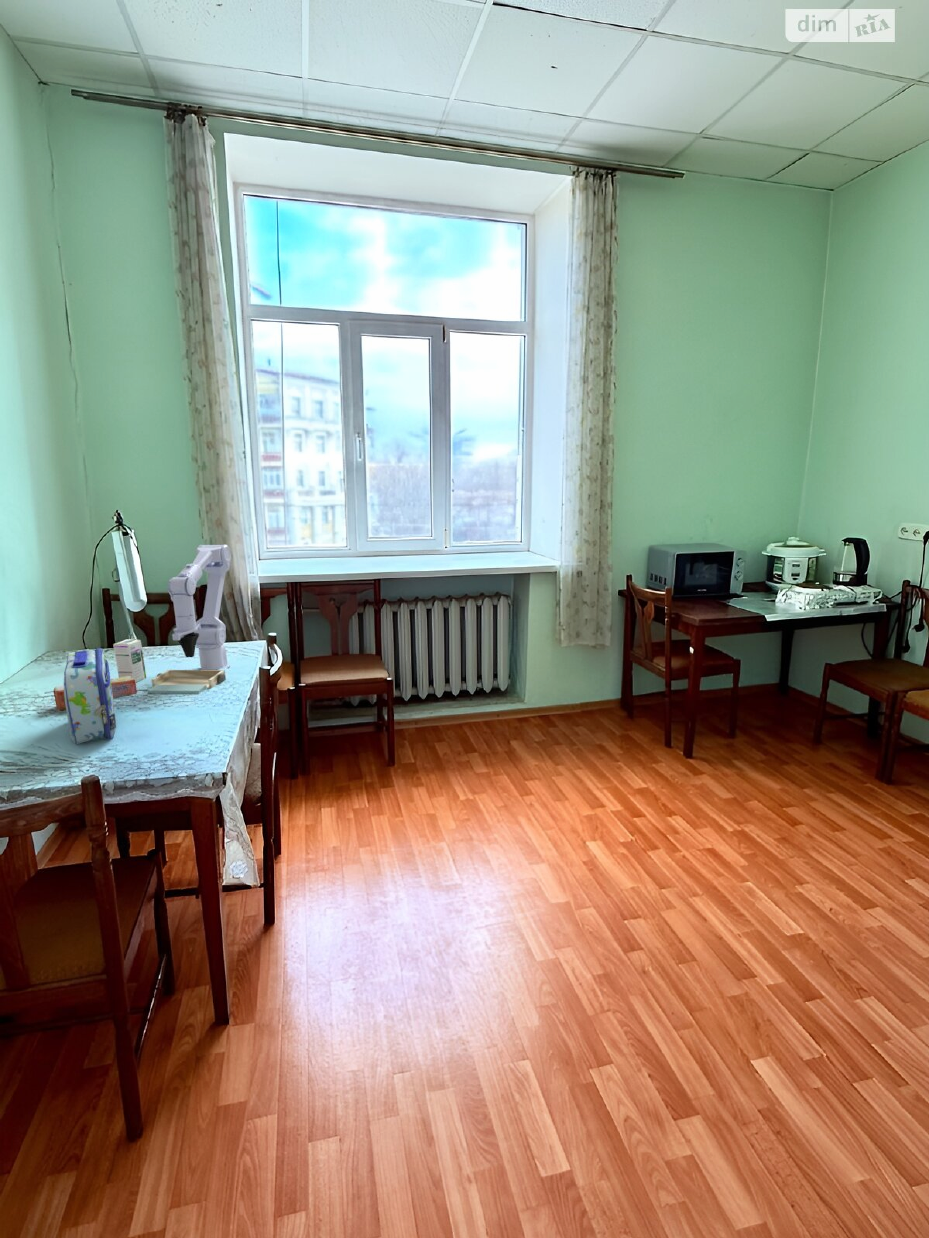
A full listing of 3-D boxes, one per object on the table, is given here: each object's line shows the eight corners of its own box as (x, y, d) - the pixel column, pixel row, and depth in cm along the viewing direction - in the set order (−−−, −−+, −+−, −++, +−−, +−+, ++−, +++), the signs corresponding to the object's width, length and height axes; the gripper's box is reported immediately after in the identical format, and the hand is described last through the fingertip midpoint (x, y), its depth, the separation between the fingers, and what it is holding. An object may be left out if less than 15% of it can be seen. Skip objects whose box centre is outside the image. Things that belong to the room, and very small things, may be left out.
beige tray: (166, 681, 211) (165, 669, 210) (229, 681, 210) (227, 670, 209) (150, 691, 201) (148, 679, 201) (215, 692, 200) (214, 679, 199)
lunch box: (119, 742, 164) (107, 663, 159) (70, 752, 159) (56, 670, 154) (116, 710, 186) (105, 640, 181) (73, 718, 181) (61, 646, 176)
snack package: (135, 692, 202) (133, 672, 200) (138, 698, 196) (135, 677, 195) (56, 706, 191) (52, 684, 189) (56, 713, 185) (52, 691, 184)
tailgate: (156, 684, 200) (147, 690, 196) (206, 684, 199) (198, 690, 194) (156, 687, 201) (148, 693, 196) (206, 687, 200) (199, 693, 195)
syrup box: (135, 687, 206) (129, 643, 202) (119, 686, 207) (112, 643, 203) (147, 682, 211) (141, 639, 208) (131, 681, 212) (125, 638, 209)
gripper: (183, 610, 210) (188, 650, 213) (160, 620, 196) (166, 663, 199) (205, 610, 209) (209, 650, 212) (183, 620, 195) (188, 663, 198)
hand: (190, 656), depth 205 cm, fingers closed
